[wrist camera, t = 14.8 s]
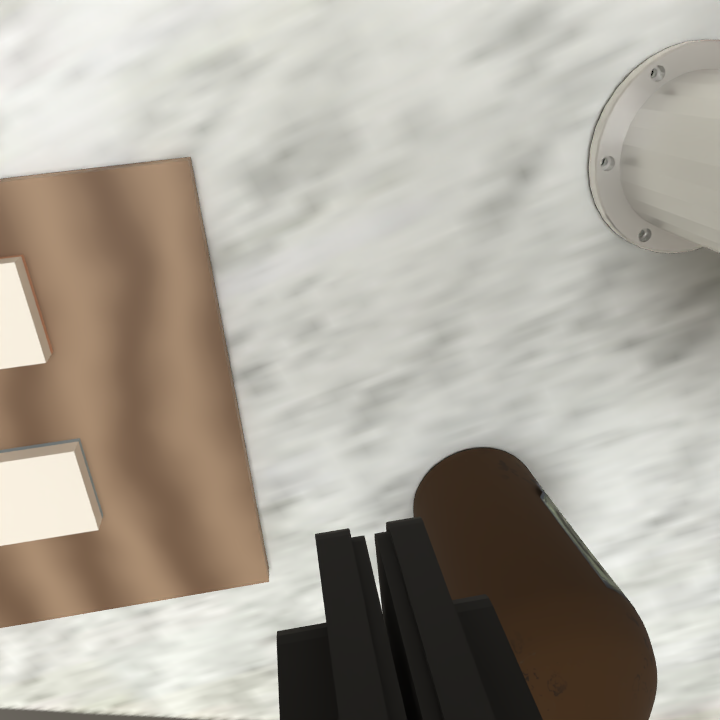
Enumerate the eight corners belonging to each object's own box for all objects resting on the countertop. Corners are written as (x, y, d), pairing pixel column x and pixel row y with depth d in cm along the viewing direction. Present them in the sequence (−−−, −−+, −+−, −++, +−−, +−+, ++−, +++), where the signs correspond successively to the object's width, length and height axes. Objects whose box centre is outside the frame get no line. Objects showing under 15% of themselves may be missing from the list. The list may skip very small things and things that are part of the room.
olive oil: (425, 574, 54) (549, 948, 31) (387, 468, 49) (499, 816, 27) (552, 529, 54) (769, 871, 31) (526, 419, 49) (756, 726, 27)
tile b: (73, 451, 42) (-63, 472, 41) (98, 529, 44) (-30, 550, 44) (79, 438, 43) (-52, 457, 43) (103, 515, 46) (-21, 534, 45)
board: (190, 156, 39) (188, 160, 38) (268, 567, 52) (269, 581, 50) (-261, 208, 37) (-280, 214, 36) (-65, 624, 49) (-74, 640, 48)
